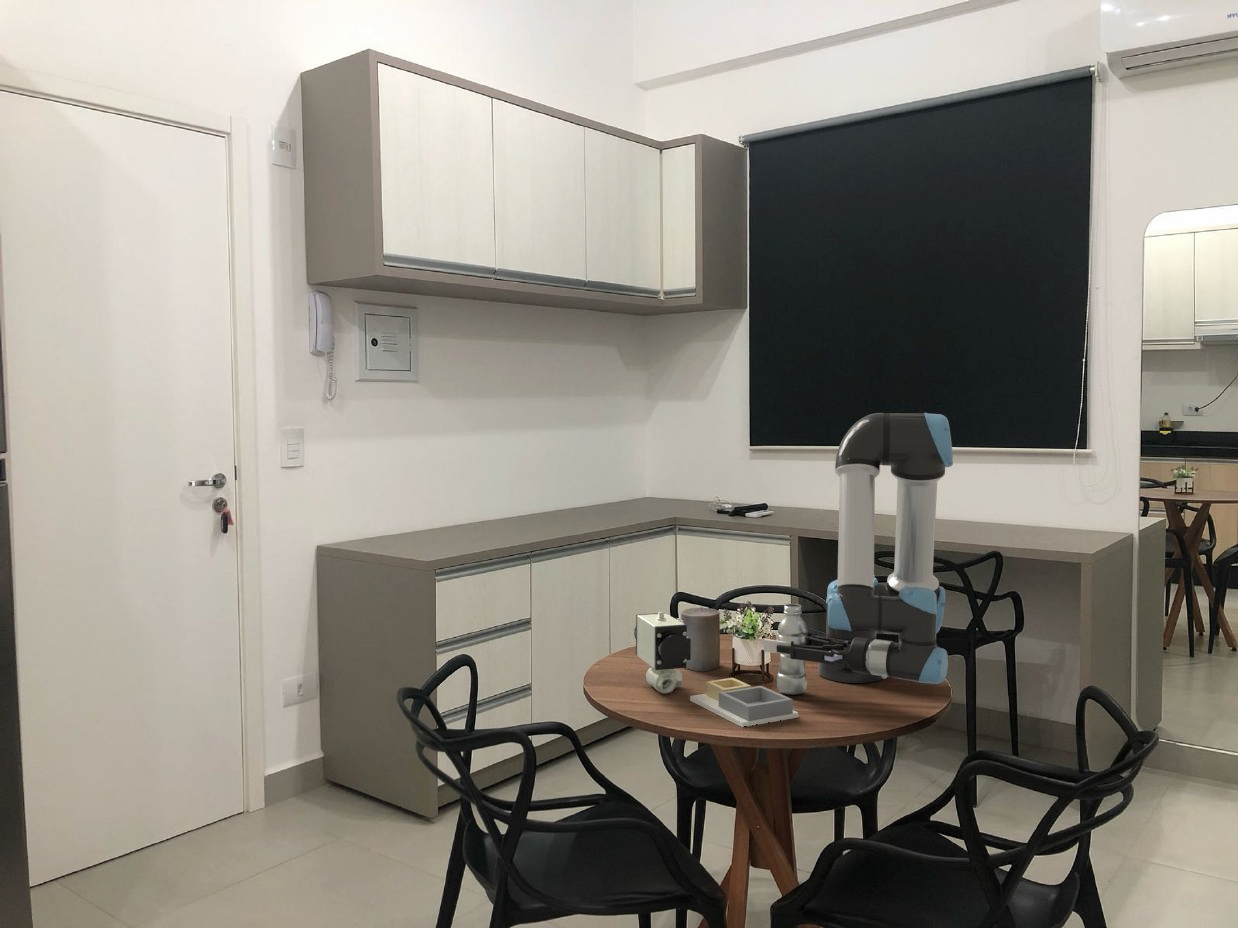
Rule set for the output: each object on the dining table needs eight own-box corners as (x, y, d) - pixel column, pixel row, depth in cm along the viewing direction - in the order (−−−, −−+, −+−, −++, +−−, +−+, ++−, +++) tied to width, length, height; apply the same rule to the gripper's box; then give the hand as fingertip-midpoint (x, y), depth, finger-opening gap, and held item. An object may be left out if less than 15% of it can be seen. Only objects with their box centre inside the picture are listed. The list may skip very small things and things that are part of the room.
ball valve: (695, 698, 217) (696, 619, 216) (659, 702, 214) (659, 621, 213) (666, 677, 234) (667, 603, 233) (632, 680, 231) (633, 605, 230)
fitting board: (743, 691, 222) (743, 674, 222) (798, 717, 204) (798, 698, 204) (690, 700, 216) (690, 682, 215) (742, 727, 198) (742, 707, 198)
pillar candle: (720, 661, 248) (719, 602, 247) (720, 671, 238) (719, 610, 238) (681, 660, 249) (681, 602, 248) (679, 671, 239) (679, 610, 239)
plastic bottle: (774, 689, 224) (775, 602, 223) (804, 689, 224) (805, 602, 223) (778, 697, 218) (779, 608, 216) (809, 698, 218) (810, 608, 216)
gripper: (856, 684, 203) (753, 667, 215) (884, 664, 219) (787, 649, 231) (856, 648, 202) (753, 633, 215) (885, 630, 218) (787, 618, 231)
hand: (771, 642), depth 223 cm, fingers closed on plastic bottle, 6 cm apart
